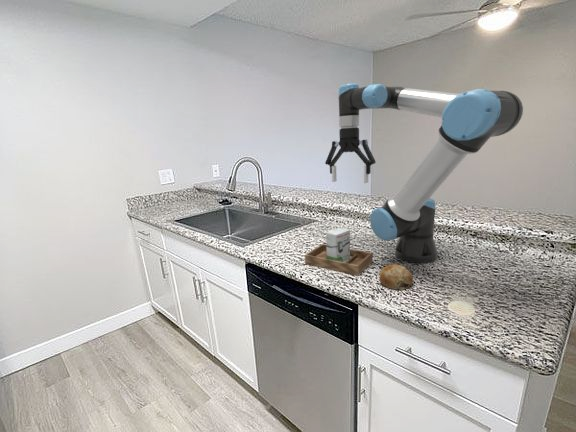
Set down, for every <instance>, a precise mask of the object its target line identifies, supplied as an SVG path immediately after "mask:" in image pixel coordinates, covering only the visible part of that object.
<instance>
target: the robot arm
mask: <svg viewBox="0 0 576 432" xmlns="http://www.w3.org/2000/svg"><path fill="white" fill-rule="evenodd" d="M337 97H338V114H339V115H338V117H339V120H338V121H339V122H338V125H339V131H338V133H339V141H337V140H334V141H331V147H330V150H329V152H328V156H327V158H326V160H325V162H324V163H325V165H327V166H329V173H330V174H331V182H332V183H335V182H337V180H338V179H337V165H335V164H337V161H339V159H340V158H341V156H342V155H343V154H344V153H355V154H356V155H357V156H358V157H359V158H360V160H361V161H362V163H364V166H363V183H364V184H367V183H369V175H370V174H371V172H372V171H371V169H372V168H371V167H372V165H374V164H376V163H377V162H376V159H375V157H374V155H373V153H372V151H371V149H370V147H369V145H368V144H369V143H368V139H361V140H360V128H359V127H360V111H362V110H368V109H369V110H370V109H371V110H373V109H375V110H376V109H389V110H392V109H393V110H397V111H398V110H399V111H405V112H411V113H415V114H420V115H426V116H431V117H432V116H433V117H437V118H441V120H442V121H441V126H440V127H439V128H438V135H439V136H438V137H439V138H438V139H437V140H436V142H435V143H434V144H433V146H432V147H431V148H430V150H429V151H428V152H427V154H426V156H424V157H423V159H422V160H421V162H420V163H419V165H418V166H417V167H416V169H414V171H413V172H412V174H411V175H410V177H408V179H407V181H406V182H405V184H404V185H403V186H402V188H401V189H400V190H399V191H398V193H397V194H393V195H390V196H389V198H387V200H386V201H385V203H384V204H383V205H382V206H381V207H377V208H375V209H373V210H372V211H371V213H370V215H369V224H370V228H371V230H372V231H373V233H374V235H375V236H376V237H377V238H379V239H380V240H382V241H392V240H395V239H398V240H397V243H396V245H395V248H394V254H395V256H396V258H398V259H400V260H401V261H404V262H409V263H415V264H416V263H418V264H421V263H422V264H425V263H431V262H434V261H436V260H437V259H438V248H437V246H436V243H435V240H434V230H435V218H436V209H437V208H436V201H435V200H434V199H433V198H431V197H432V196H433V195H434V194H435V193H436V191H437V190H438V189H439V188H440V187H441V186H442V184H443V183H444V182H445V181H446V180H447V178H448V177H449V176H450V175H451V174H452V173H454V171H455V169H456V168H457V167H458V166H459V165H460V164H461V162H462V161H464V159H465V158H466V157H467V156H468V155H471V154H472V155H473V154H476V153H478V152H479V151H480V150H481V148H482V147H483V146H485V144H486V143H487V142H488V140H489V139H491V138H492V137H493V138H494V137H499V136H502V135H505V134H507V133H509V132H511V131H512V130H513V129H514V128H515V127H517V126H518V124H519V123H520V121H521V119H522V117H523V115H524V106H523V102H522V101H521V98H519V96H518V95H517V94H515V93H512V92H511V91H505V90H490V89H489V90H488V89H484V88H483V89H474V90H467V91H464V92H461V93H456V92H455V93H454V92H447V91H437V90H429V89H427V90H426V89H421V88H420V89H419V88H409V87H404V86H386V85H385V86H384V85H383V84H382V83H377V84H374V83H373V84H370V85H367V86H362V87H360V85H359V84H358V83H346V84H345V83H344V84H342V85H340V86H339V88H338V96H337ZM360 146H362V149H363V150H364V152H365V154H364V153H363V151H362V150H361V148H360ZM338 147H340V148H339V150H338V151H337V152H336V150H337V148H338ZM335 153H336V154H335ZM365 155H366V156H365Z"/></svg>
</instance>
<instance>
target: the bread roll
mask: <svg viewBox="0 0 576 432" xmlns="http://www.w3.org/2000/svg"><path fill="white" fill-rule="evenodd" d="M378 276H379V280H380V281H379V282H380V283H381V284H382V286H383V287H386V288H389V289H392V290H400V291H404V290H406V289H407V288H410V287H411V286H413V282H414V277H413V275H412V273H411V271H410V270H408V269H407V267H406V266H403V265H402V264H398V263H396V264H394V263H393V264H388V265H386V266H384V267H382V268H381V271H379V272H378Z"/></svg>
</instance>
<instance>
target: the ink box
mask: <svg viewBox="0 0 576 432" xmlns="http://www.w3.org/2000/svg"><path fill="white" fill-rule="evenodd" d="M325 243H326V244H325V245H326V250H327V259H330V260H335V261H340V262H344V261H346V260H348V259H350V249H351V229H347V228H344V227H337V228H333V229H331V230H329V231H327V232H326V233H325Z"/></svg>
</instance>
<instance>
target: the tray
mask: <svg viewBox="0 0 576 432" xmlns="http://www.w3.org/2000/svg"><path fill="white" fill-rule="evenodd" d="M373 254H374V253H373V252H369V251H365V250H364V251H363V250H359V249H358V250H357V249H352V248H350V259H348V260H346V261H344V262H340V261H335V260H330V259H327V250H326V244H324V243H322V244H320V245H319V246H317V247H316V248H313V249H312V250H310V251H309V252H307V253H306V254H304V261H305V262H304V264H306V265H309V266H315V267H319V268H322V269H327V270H331V271H332V270H333V271H335V272H340V273H345V274H348V275H354V276H357V277H358V276H360V274H361V273H363V272H364V271H365V270H366V269H367V268H368V266H370V264H372V263H373V258H374V257H373V256H374V255H373Z"/></svg>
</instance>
